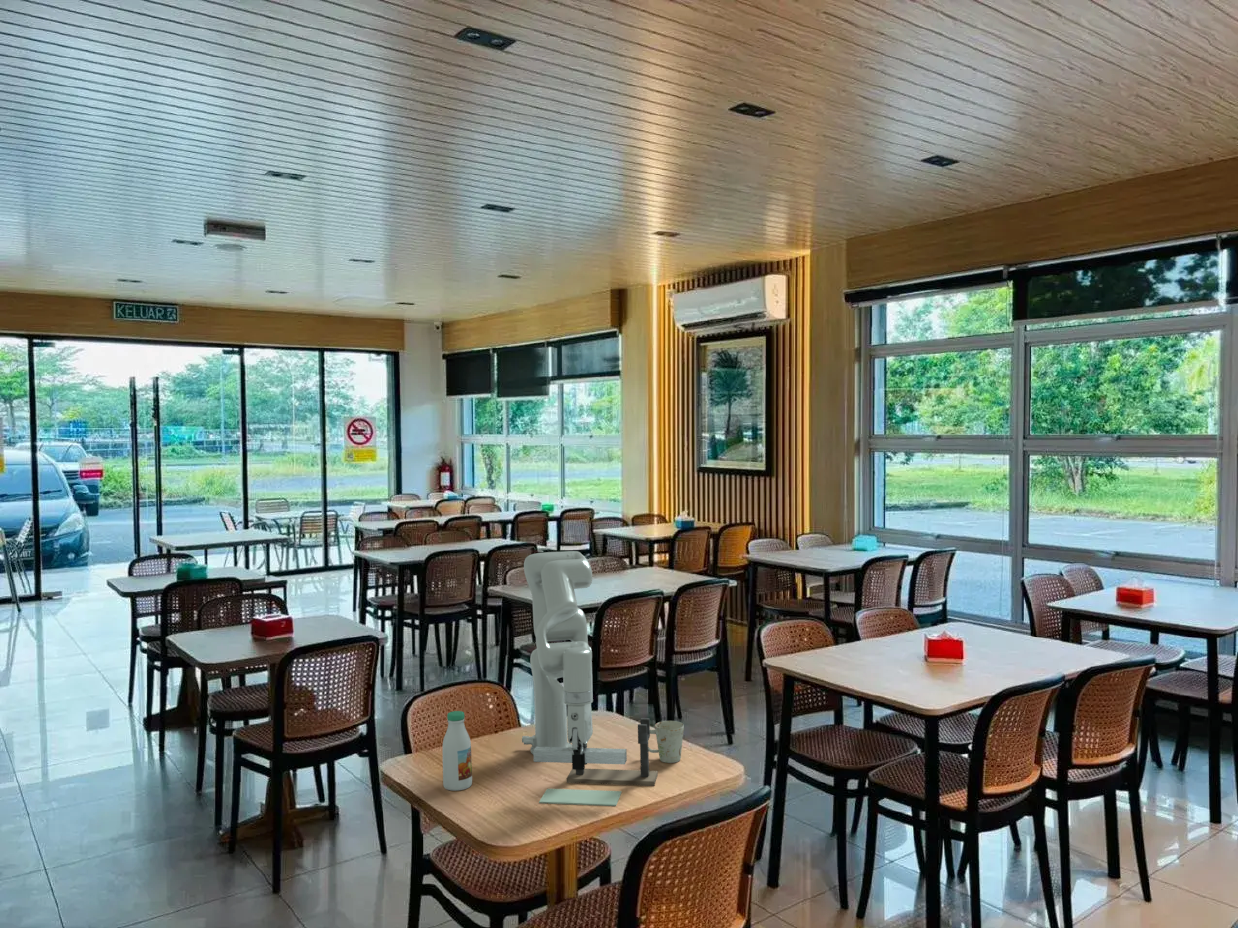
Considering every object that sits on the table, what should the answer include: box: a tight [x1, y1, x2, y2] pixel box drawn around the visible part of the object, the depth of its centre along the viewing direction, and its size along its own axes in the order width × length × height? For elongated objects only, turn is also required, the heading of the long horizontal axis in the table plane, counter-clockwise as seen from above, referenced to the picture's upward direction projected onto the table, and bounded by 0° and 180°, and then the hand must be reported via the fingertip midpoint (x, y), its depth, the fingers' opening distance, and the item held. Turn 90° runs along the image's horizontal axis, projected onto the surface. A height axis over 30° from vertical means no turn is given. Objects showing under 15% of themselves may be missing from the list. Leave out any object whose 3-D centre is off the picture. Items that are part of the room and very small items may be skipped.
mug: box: [648, 720, 685, 764], centre depth 266 cm, size 8×13×10 cm, turn 79°
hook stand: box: [565, 717, 659, 787], centre depth 251 cm, size 24×8×16 cm, turn 81°
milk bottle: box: [442, 710, 473, 792], centre depth 248 cm, size 8×8×20 cm
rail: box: [532, 747, 628, 765], centre depth 238 cm, size 24×3×3 cm, turn 81°
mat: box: [538, 788, 623, 807], centre depth 238 cm, size 20×9×1 cm, turn 81°
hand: (580, 765), depth 238 cm, fingers closed on rail, 3 cm apart
